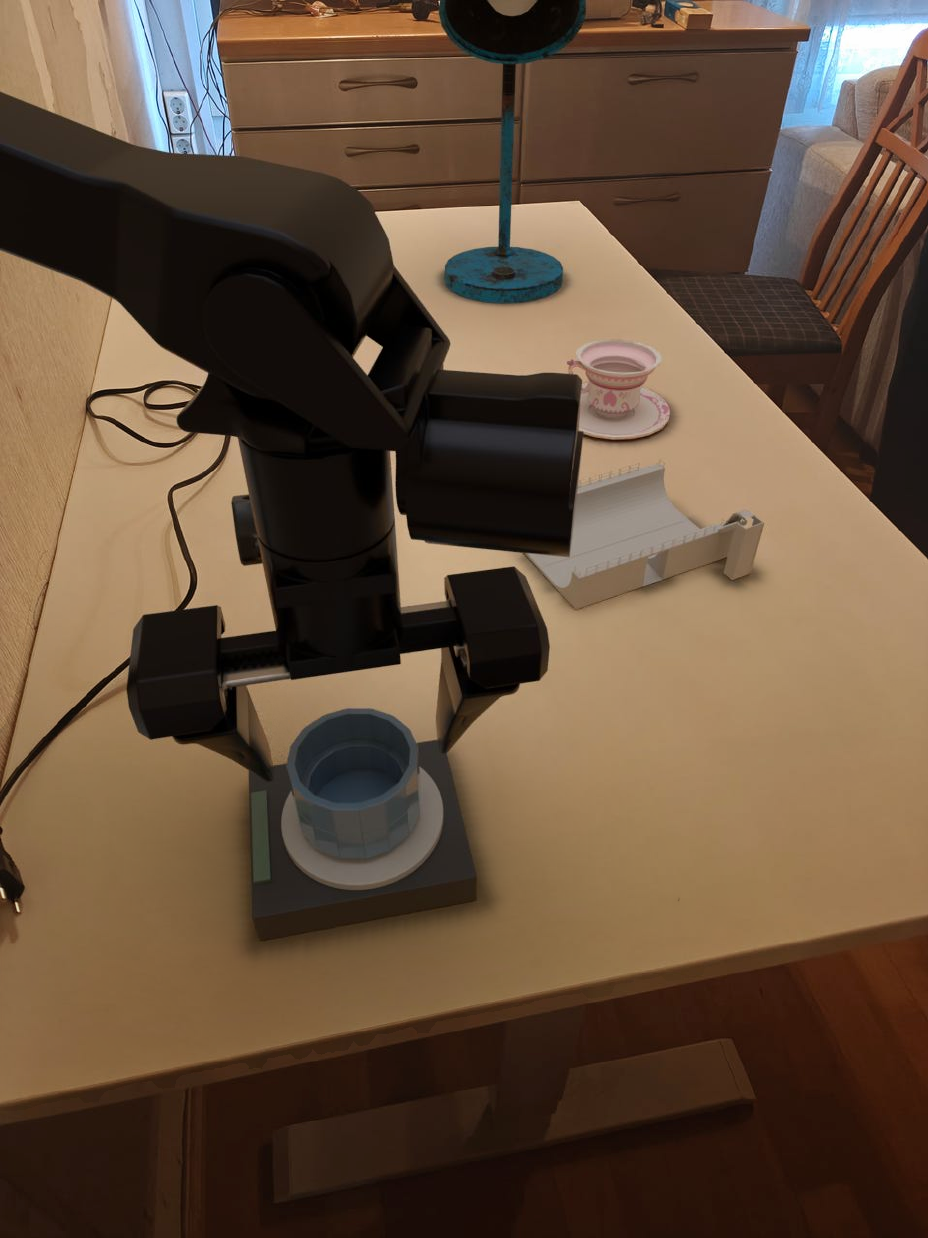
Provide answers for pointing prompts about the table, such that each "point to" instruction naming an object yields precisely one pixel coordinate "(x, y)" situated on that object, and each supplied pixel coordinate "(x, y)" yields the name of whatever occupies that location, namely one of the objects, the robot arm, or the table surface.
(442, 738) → the robot arm
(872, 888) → the table surface
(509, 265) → the desk lamp
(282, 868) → the scale
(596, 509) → the skate ramp
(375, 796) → the bowl
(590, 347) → the teacup
